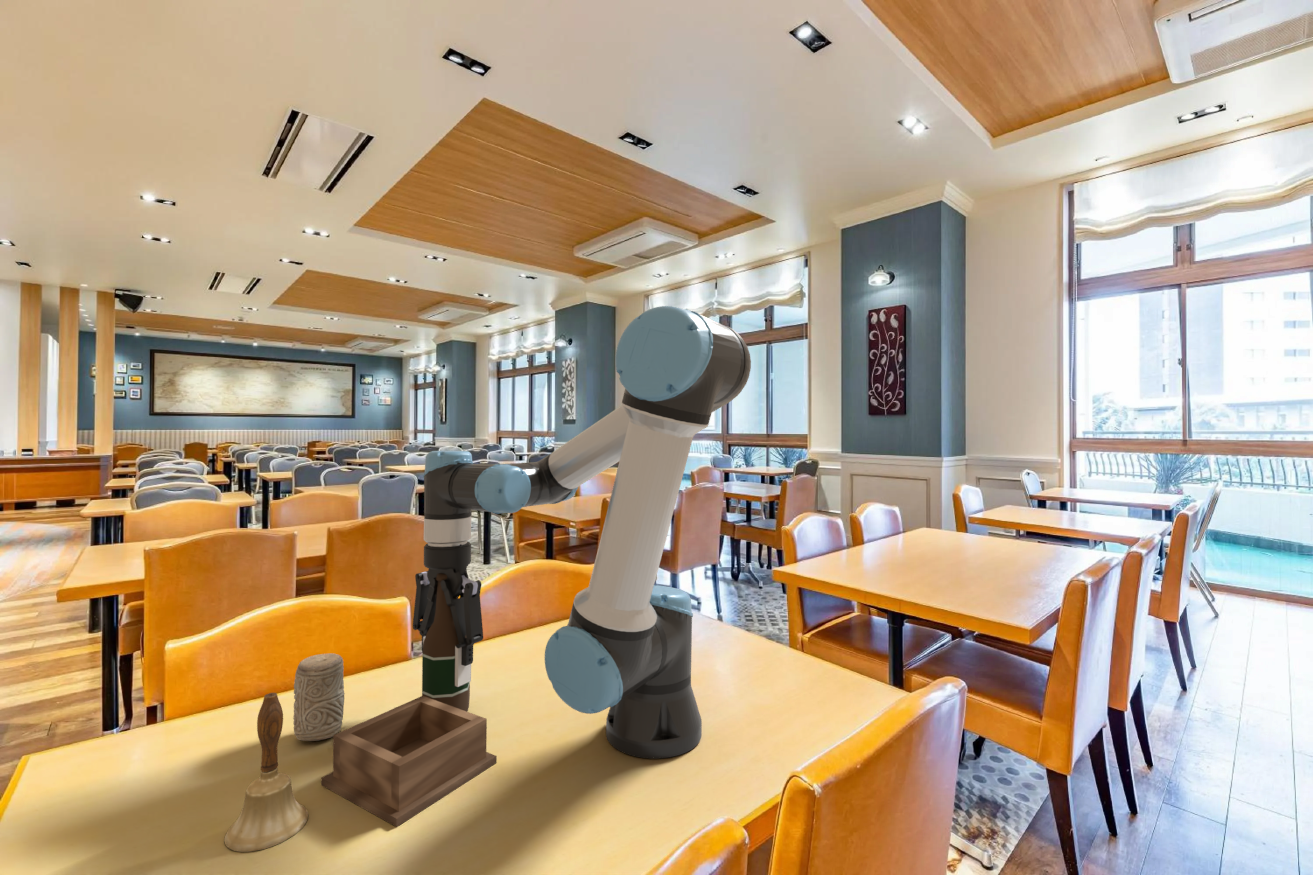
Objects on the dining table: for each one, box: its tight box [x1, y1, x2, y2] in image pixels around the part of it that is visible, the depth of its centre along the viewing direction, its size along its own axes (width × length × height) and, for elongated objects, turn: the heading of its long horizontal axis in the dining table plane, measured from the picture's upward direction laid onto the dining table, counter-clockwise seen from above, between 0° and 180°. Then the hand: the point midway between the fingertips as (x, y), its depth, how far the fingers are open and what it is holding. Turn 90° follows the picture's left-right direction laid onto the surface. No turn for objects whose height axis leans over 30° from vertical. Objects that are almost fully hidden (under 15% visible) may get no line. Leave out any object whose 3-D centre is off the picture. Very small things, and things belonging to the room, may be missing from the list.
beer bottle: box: [421, 573, 471, 712], centre depth 97 cm, size 8×8×24 cm
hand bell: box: [224, 692, 309, 853], centre depth 69 cm, size 8×8×16 cm
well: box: [320, 695, 497, 828], centre depth 80 cm, size 16×16×6 cm
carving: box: [292, 652, 345, 742], centre depth 90 cm, size 6×8×12 cm
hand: (446, 677), depth 97 cm, fingers closed on beer bottle, 7 cm apart
